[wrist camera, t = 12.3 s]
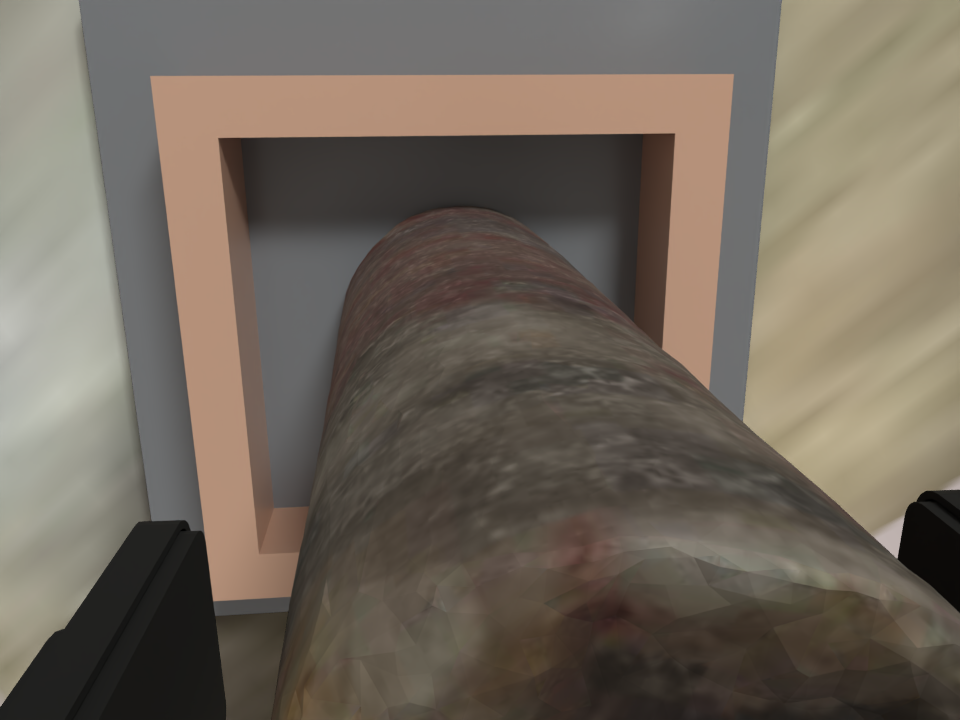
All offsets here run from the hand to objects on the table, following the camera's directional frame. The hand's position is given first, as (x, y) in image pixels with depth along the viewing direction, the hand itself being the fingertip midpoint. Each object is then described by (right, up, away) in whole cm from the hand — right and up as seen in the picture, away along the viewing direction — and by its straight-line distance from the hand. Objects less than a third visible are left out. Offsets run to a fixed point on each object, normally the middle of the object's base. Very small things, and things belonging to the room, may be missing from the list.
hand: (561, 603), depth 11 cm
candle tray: (-2, +4, +16) cm, 17 cm away
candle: (-2, +4, +15) cm, 16 cm away
